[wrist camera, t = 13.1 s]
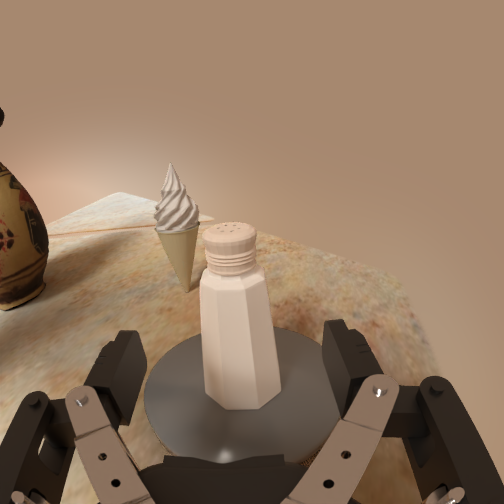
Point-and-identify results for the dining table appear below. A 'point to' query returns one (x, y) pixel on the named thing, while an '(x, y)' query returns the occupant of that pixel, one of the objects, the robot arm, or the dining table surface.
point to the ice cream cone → (177, 226)
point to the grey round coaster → (242, 421)
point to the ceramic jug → (20, 242)
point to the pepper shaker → (236, 321)
